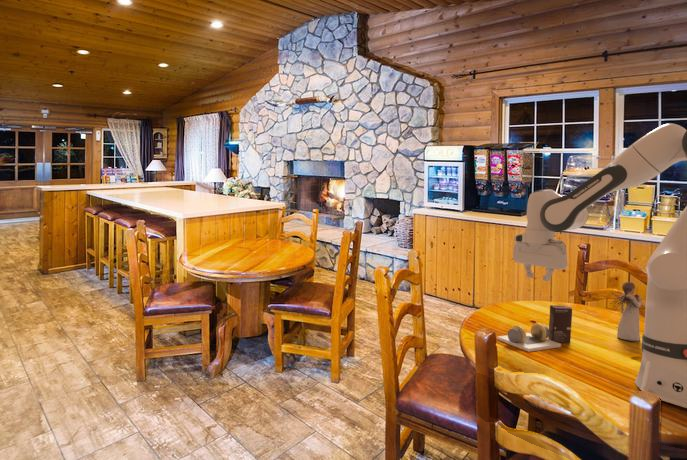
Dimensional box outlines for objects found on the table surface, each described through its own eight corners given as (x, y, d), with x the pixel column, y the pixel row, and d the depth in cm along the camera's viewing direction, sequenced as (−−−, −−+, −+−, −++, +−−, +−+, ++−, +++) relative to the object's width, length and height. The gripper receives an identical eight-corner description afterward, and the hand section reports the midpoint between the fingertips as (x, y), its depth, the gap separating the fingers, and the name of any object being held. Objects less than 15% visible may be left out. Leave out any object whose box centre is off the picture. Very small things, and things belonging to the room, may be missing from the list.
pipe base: (560, 346, 143) (561, 328, 142) (528, 351, 137) (529, 332, 137) (527, 335, 155) (528, 318, 155) (497, 339, 150) (497, 321, 150)
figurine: (644, 340, 151) (646, 283, 150) (630, 345, 145) (632, 285, 145) (614, 333, 159) (616, 279, 158) (599, 337, 154) (602, 281, 153)
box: (552, 342, 147) (554, 307, 146) (548, 338, 151) (549, 304, 151) (571, 343, 146) (572, 308, 146) (566, 339, 151) (567, 305, 150)
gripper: (573, 240, 137) (571, 284, 138) (524, 236, 156) (522, 274, 157) (558, 240, 135) (556, 285, 136) (510, 236, 154) (509, 274, 154)
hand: (537, 279), depth 146 cm, fingers open, 6 cm apart
